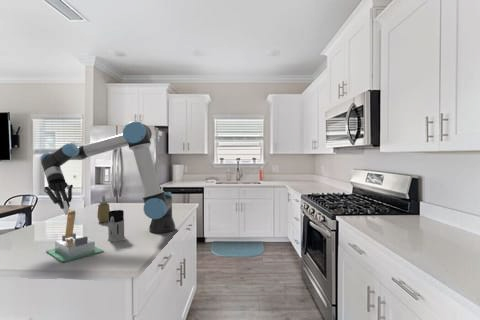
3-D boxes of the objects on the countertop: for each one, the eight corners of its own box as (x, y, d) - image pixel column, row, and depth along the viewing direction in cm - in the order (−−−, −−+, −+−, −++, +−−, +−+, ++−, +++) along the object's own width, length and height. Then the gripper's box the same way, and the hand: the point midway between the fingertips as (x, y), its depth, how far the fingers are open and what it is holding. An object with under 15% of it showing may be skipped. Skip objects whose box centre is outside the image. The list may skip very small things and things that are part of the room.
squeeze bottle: (97, 223, 185) (96, 196, 185) (97, 221, 192) (96, 195, 192) (110, 222, 189) (110, 195, 189) (110, 219, 196) (109, 194, 196)
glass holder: (126, 236, 155) (126, 209, 155) (120, 244, 141) (119, 214, 141) (110, 237, 154) (109, 210, 153) (102, 245, 140) (101, 215, 139)
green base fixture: (46, 251, 131) (45, 235, 130) (84, 242, 144) (84, 227, 143) (62, 263, 116) (62, 244, 116) (103, 252, 130) (103, 235, 129)
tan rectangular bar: (65, 239, 133) (64, 236, 134) (72, 237, 135) (71, 235, 137) (69, 213, 130) (67, 211, 131) (76, 212, 132) (74, 210, 134)
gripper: (67, 181, 152) (79, 215, 141) (38, 183, 142) (50, 220, 131) (70, 171, 148) (83, 206, 138) (41, 173, 138) (53, 210, 128)
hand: (67, 212), depth 135 cm, fingers closed
